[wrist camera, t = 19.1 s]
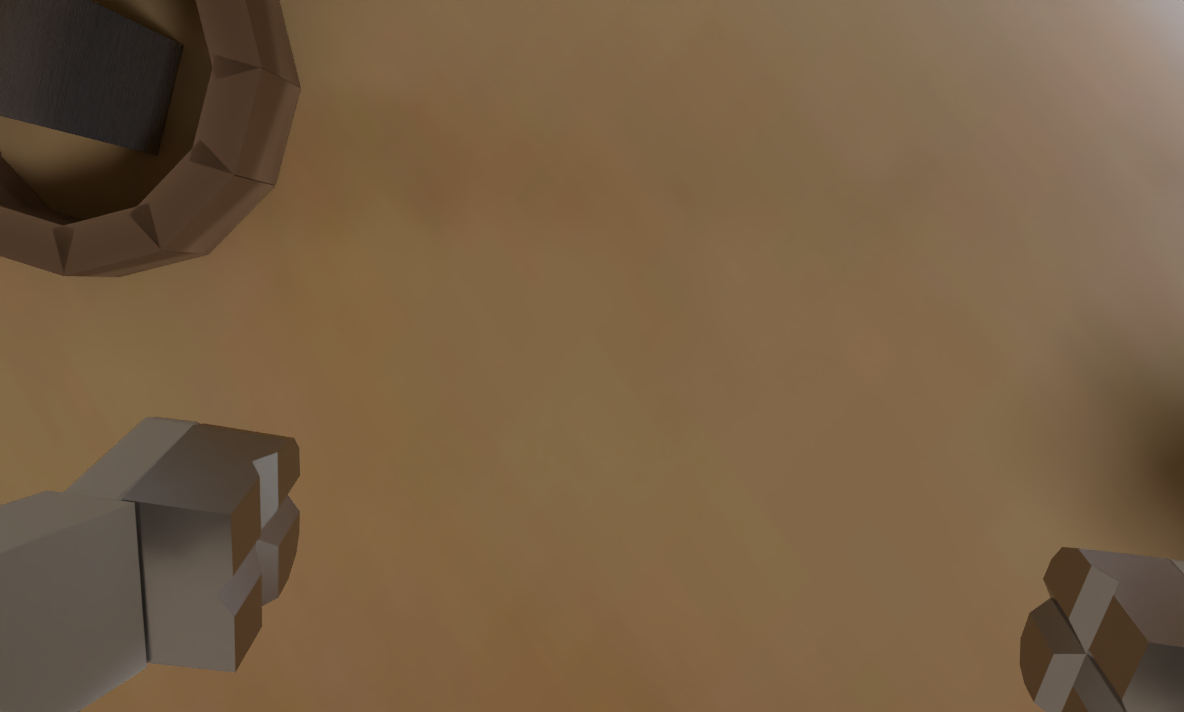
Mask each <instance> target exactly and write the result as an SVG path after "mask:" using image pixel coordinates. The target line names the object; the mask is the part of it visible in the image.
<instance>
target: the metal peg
mask: <svg viewBox="0 0 1184 712" xmlns="http://www.w3.org/2000/svg"><path fill="white" fill-rule="evenodd" d="M182 48H183V45H181V44H179V43H177V42H175V41H173V40H171V39H169V38H167V37H165V36H163V35H161V34H159V33H157V32H154V31H152V30H150V29H148V28H146V27H144V26H142V25H140V24H138V23H136V22H134V21H132V20H130V19H128V18H126V17H124V16H122V15H120V14H117V13H115V12H113V11H111V10H109V9H107V8H105V7H103V6H101V5H99V4H97V3H95V2H93V1H91V0H0V116H4V117H8V118H12V119H16V120H20V121H23V122H27V123H31V124H35V125H39V126H43V127H47V128H51V129H55V130H59V131H63V132H67V133H71V134H75V135H79V136H83V137H87V138H90V139H94V140H98V141H102V142H106V143H110V144H114V145H118V146H122V147H126V148H130V149H134V150H138V151H142V152H146V153H150V154H154V155H157V153H158V149H159V145H160V141H161V137H162V132H163V128H164V124H165V120H166V116H167V111H168V107H169V103H170V99H171V95H172V90H173V86H174V82H175V78H176V74H177V69H178V65H179V61H180V57H181V53H182Z"/></svg>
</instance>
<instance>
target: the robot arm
mask: <svg viewBox="0 0 1184 712" xmlns="http://www.w3.org/2000/svg"><path fill="white" fill-rule="evenodd" d="M299 476H300V460H299V447H298V445H297V443H296V441H295V439H294V438H292V437H285V436H279V435H273V434H267V433H260V432H254V431H248V430H241V429H235V428H229V427H223V426H216V425H210V424H200V423H198V422H195V421H187V420H178V419H170V418H162V417H147V418H145V419H144V420H142V421H141V422H140V423H139V424H138V425H137V426H136V427H135V428H133V429H132V430H131V431H130V432H129V433H128V434H127V435H126V436H125V437H124V438H122V439H121V440H120V441H119V442H118V443H117V444H116V445H115V446H114V447H113V448H112V449H110V450H109V451H108V452H107V453H106V454H105V455H104V456H103V457H102V458H101V459H99V460H98V461H97V462H96V463H95V464H94V465H93V466H92V467H91V468H90V469H88V470H87V471H86V472H85V473H84V474H83V475H82V476H81V477H80V478H79V479H77V480H76V481H75V482H74V483H73V484H72V485H71V486H70V487H69V488H68V489H66V490H65V491H64V492H55V491H48V490H47V491H44V492H41V493H38V494H35V495H32V496H29V497H25V498H22V499H19V500H16V501H13V502H10V503H7V504H3V505H0V712H79V711H80V710H82V709H83V708H85V707H86V706H88V705H89V704H91V703H93V702H94V701H96V700H97V699H99V698H100V697H102V696H103V695H105V694H107V693H108V692H110V691H111V690H113V689H114V688H116V687H117V686H119V685H120V684H122V683H124V682H125V681H127V680H128V679H130V678H131V677H133V676H134V675H136V674H137V673H139V672H141V671H142V670H144V669H145V668H147V663H153V664H162V665H172V666H181V667H190V668H199V669H208V670H217V671H226V672H236V670H237V669H238V667H239V665H240V664H241V662H242V660H243V658H244V657H245V655H246V653H247V651H248V650H249V648H250V646H251V644H252V643H253V641H254V639H255V638H256V636H257V634H258V632H259V631H260V629H261V627H262V606H263V605H265V604H267V603H269V602H271V601H273V600H275V599H277V598H278V597H279V595H280V594H281V592H282V590H283V588H284V586H285V584H286V582H287V581H288V578H289V575H290V572H291V569H292V566H293V562H294V559H295V556H296V552H297V545H298V537H299V522H300V511H299V510H298V508H297V507H296V506H295V504H294V503H293V501H292V500H291V499H290V497H289V496H288V493H289V492H290V490H291V488H292V487H293V485H294V484H295V482H296V481H297V479H298V478H299ZM1043 580H1044V582H1045V585H1046V587H1047V590H1048V592H1049V595H1050V597H1051V598H1050V599H1048V600H1047V601H1045V602H1044V603H1043V604H1041V605H1040V606H1038V607H1037V608H1036V609H1034V610H1033V611H1031V612H1030V613H1029V616H1028V619H1027V622H1026V625H1025V627H1024V630H1023V633H1022V636H1021V641H1020V667H1021V671H1022V675H1023V680H1024V684H1025V686H1026V688H1027V690H1028V692H1029V694H1030V696H1031V698H1032V700H1033V702H1034V703H1035V704H1037V705H1038V706H1039V707H1041V708H1042V709H1043V710H1044V711H1046V712H1184V560H1178V559H1168V558H1159V557H1150V556H1141V555H1133V554H1124V553H1115V552H1106V551H1098V550H1089V549H1080V548H1068V547H1062V548H1061V549H1060V550H1059V551H1058V552H1057V554H1056V555H1055V556H1054V557H1053V558H1052V559H1051V561H1050V564H1049V566H1048V569H1047V571H1046V573H1045V576H1044V578H1043Z"/></svg>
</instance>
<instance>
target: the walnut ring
mask: <svg viewBox="0 0 1184 712" xmlns="http://www.w3.org/2000/svg"><path fill="white" fill-rule="evenodd" d="M196 4H197V8H198V12H199V16H200V20H201V24H202V28H203V32H204V36H205V40H206V44H207V48H208V52H209V56H210V59H211V63H212V71H211V75H210V79H209V83H208V87H207V91H206V95H205V99H204V103H203V107H202V111H201V115H200V119H199V123H198V127H197V131H196V135H195V139H194V143H193V147H192V149H191V150H190V151H189V152H188V153H187V155H186V156H185V157H184V158H183V159H182V160H181V161H180V162H179V163H178V164H177V165H176V166H175V167H174V168H173V169H172V170H171V171H170V172H169V173H168V174H167V176H166V177H165V178H164V179H163V180H162V181H161V182H160V183H159V184H158V185H157V186H156V187H155V188H154V189H153V190H152V191H151V192H150V193H149V194H148V195H147V197H146V198H145V199H144V200H143V201H142V202H141V203H140V204H139V205H138V206H136V207H133V208H129V209H125V210H121V211H117V212H114V213H110V214H106V215H102V216H98V217H95V218H91V219H87V220H80V219H77V218H74V217H70V216H67V215H64V214H61V213H57V212H54V211H51V210H50V209H49V208H48V207H47V206H46V204H45V203H44V202H43V201H42V200H41V199H40V198H39V197H38V196H37V195H36V194H35V193H34V191H33V190H32V189H31V188H30V187H29V186H28V185H27V184H26V183H25V182H24V181H23V180H22V179H21V177H20V176H19V175H18V174H17V173H16V172H15V171H14V170H13V169H12V168H11V167H10V166H9V164H8V163H7V162H6V161H5V160H4V159H3V158H2V156H1V152H0V256H2V257H5V258H8V259H12V260H15V261H18V262H21V263H24V264H27V265H31V266H34V267H37V268H40V269H43V270H47V271H50V272H53V273H56V274H59V275H62V276H96V277H121V276H125V275H129V274H133V273H137V272H141V271H145V270H149V269H153V268H157V267H160V266H164V265H168V264H172V263H176V262H180V261H184V260H188V259H192V258H196V257H200V256H204V255H208V254H209V253H210V252H211V251H212V250H213V249H214V248H215V247H216V246H217V245H218V244H219V243H220V242H221V241H222V240H223V239H224V238H225V237H226V236H227V235H228V234H229V232H230V231H231V230H232V229H233V228H234V227H235V226H236V225H237V224H238V223H239V222H240V221H241V220H242V219H243V218H244V217H245V216H246V215H247V214H248V213H249V212H250V211H251V210H252V209H253V208H254V207H255V206H256V205H257V204H258V203H259V202H260V201H261V200H262V199H263V198H264V197H265V196H266V195H267V193H268V192H269V191H270V190H271V189H272V188H273V187H274V185H275V184H276V181H277V177H278V173H279V169H280V165H281V161H282V158H283V154H284V150H285V146H286V142H287V138H288V134H289V131H290V127H291V123H292V119H293V115H294V111H295V108H296V104H297V100H298V96H299V92H300V83H299V79H298V75H297V71H296V67H295V63H294V59H293V55H292V51H291V47H290V43H289V39H288V35H287V31H286V27H285V23H284V19H283V15H282V11H281V7H280V3H279V0H196Z"/></svg>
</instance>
